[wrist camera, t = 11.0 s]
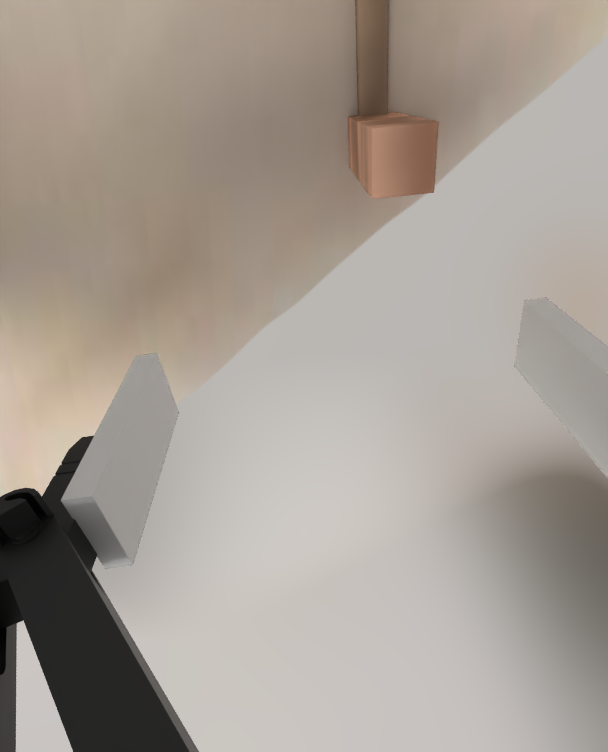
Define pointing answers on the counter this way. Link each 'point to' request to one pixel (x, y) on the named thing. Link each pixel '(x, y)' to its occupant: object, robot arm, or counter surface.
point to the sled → (386, 119)
